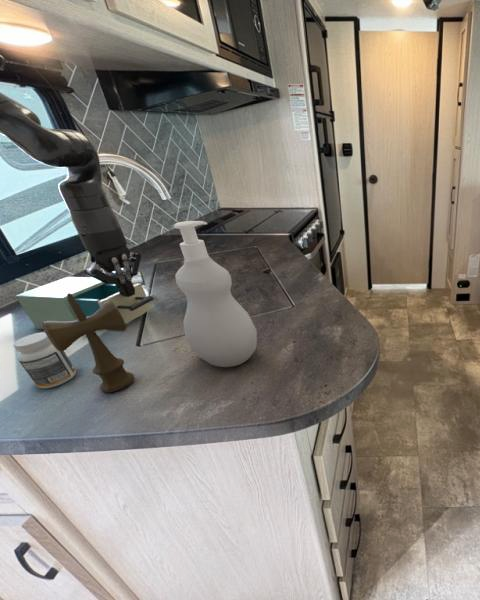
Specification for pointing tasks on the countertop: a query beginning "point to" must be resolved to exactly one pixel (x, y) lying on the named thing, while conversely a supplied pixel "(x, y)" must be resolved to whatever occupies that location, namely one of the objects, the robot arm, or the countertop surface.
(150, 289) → the countertop surface
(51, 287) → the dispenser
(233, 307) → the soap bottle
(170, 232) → the countertop surface
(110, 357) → the kendama
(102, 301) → the drawer
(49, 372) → the pill bottle
